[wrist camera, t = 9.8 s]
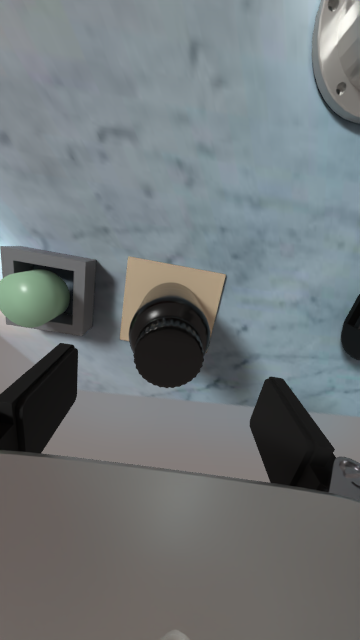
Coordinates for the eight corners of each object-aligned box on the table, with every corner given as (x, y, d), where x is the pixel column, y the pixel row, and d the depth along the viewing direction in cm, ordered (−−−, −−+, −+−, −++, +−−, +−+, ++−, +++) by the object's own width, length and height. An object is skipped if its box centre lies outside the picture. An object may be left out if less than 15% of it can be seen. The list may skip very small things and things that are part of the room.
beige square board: (225, 274, 25) (225, 274, 25) (206, 352, 28) (206, 353, 28) (128, 256, 24) (128, 256, 24) (120, 338, 27) (119, 339, 27)
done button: (70, 274, 22) (53, 278, 19) (69, 320, 24) (53, 331, 21) (18, 265, 22) (-7, 268, 19) (21, 312, 23) (-2, 322, 20)
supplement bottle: (188, 343, 27) (197, 412, 16) (135, 326, 27) (105, 387, 15) (208, 291, 25) (234, 329, 14) (152, 272, 25) (130, 295, 13)
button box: (96, 259, 24) (85, 261, 22) (92, 326, 27) (82, 336, 24) (21, 246, 24) (0, 246, 21) (24, 315, 26) (6, 324, 23)
